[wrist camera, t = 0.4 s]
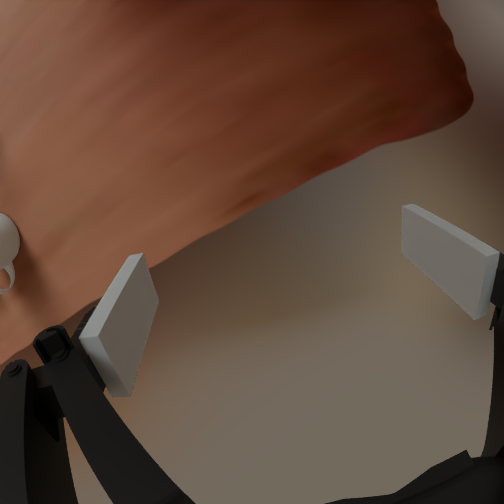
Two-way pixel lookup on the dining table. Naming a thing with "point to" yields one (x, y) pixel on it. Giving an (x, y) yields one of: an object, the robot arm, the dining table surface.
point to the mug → (8, 247)
